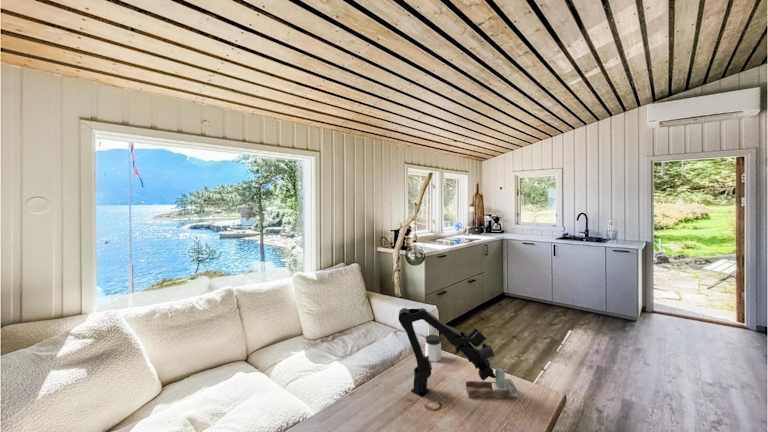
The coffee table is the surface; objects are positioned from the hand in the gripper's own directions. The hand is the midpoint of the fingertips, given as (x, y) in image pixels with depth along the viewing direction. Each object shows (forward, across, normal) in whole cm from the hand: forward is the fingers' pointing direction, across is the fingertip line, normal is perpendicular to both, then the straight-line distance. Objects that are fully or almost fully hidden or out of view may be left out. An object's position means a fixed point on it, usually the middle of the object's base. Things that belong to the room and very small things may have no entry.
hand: (495, 377), depth 146 cm
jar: (-12, +33, +24) cm, 43 cm away
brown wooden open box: (+4, 0, +7) cm, 8 cm away
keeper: (+6, 0, +3) cm, 6 cm away
